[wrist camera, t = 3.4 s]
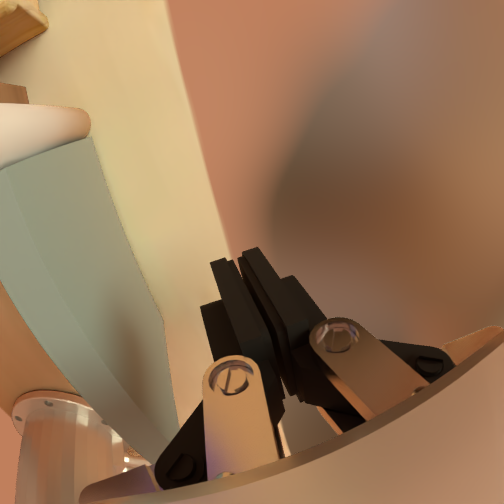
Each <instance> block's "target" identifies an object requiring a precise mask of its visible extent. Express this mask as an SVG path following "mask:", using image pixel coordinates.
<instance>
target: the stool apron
mask: <svg viewBox="0 0 504 504" xmlns="http://www.w3.org/2000/svg"><path fill="white" fill-rule="evenodd" d="M0 103H14V104H29V101H28V97H27V92H26V87H23V86H17V85H11V84H5V83H0Z"/></svg>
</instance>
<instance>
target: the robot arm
mask: <svg viewBox="0 0 504 504" xmlns="http://www.w3.org/2000/svg"><path fill="white" fill-rule="evenodd" d="M238 263H239V267H240V271H241V275H242V277H241V275H240V273H239V271H238V269H237V267H236V265H235V263H234V261H233V260H230V261H227V260H226V258H222V259H219V260H216V261H213V262H210V265H211V268H212V271H213V274H214V277H215V280H216V283H217V286H218V289H219V292H220V295H221V298H222V299H221V300H218V301H215V302H212V303H209V304H206V305H203V306H200V309H201V313H202V317H203V321H204V325H205V329H206V333H207V337H208V340H209V344H210V348H211V352H212V355H213V359H214V363H213V364H212V365H211V366H210V367H209V368H208V369H207V370H206V372H205V374H204V376H203V382H202V387H203V400H202V401H201V403H200V404H199V405H198V407H197V408H196V409H195V411H194V412H193V413H192V415H191V416H190V417H189V419H188V420H187V421H186V422H185V424H184V425H183V426H182V428H181V429H180V430H179V432H178V433H177V434H176V436H175V437H174V438H173V439H172V441H171V442H170V443H169V445H168V446H167V447H166V448H165V450H164V451H163V452H162V453H161V455H160V456H159V458H158V460H157V461H156V463H155V464H152V465H151V464H150V463H149V462H148V461H147V460H146V459H145V458H143V457H141V456H133V455H129V454H128V452H127V451H128V449H129V446H130V445H129V444H128V443H127V442H126V441H124V440H123V439H122V438H121V437H120V436H119V435H118V434H117V433H116V432H115V431H114V430H113V429H112V428H111V427H110V426H109V425H108V424H107V423H106V422H105V421H104V420H103V419H102V418H101V417H100V416H99V415H98V414H97V413H96V412H95V411H94V410H93V408H92V407H91V406H90V405H89V404H88V403H87V402H86V401H85V400H84V399H83V398H82V397H79V396H77V395H73V394H69V393H64V392H58V391H51V390H50V391H42V390H40V391H33V392H28V393H26V394H23V395H21V396H20V397H19V398H18V399H17V400H16V402H15V403H14V406H13V410H12V421H13V424H14V426H15V428H16V429H17V431H18V433H19V434H20V435H21V436H22V443H21V449H20V456H19V463H18V472H17V481H16V495H15V504H504V329H503V328H501V327H499V326H489V327H486V328H484V329H481V330H479V331H476V332H474V333H472V334H469V335H467V336H464V337H462V338H459V339H457V340H454V341H451V342H449V343H446V344H443V347H442V349H439V348H435V347H430V346H422V345H414V344H407V343H399V342H392V341H385V340H378V339H377V338H376V337H374V336H373V335H372V334H371V333H369V332H368V331H367V330H366V329H365V328H364V327H362V326H361V325H360V324H359V323H357V322H356V321H353V320H351V319H348V318H344V317H335V318H329V319H327V318H326V317H325V315H324V314H323V313H322V311H321V310H320V309H319V307H318V306H317V305H316V304H315V302H314V301H313V300H312V299H311V297H310V296H309V295H308V293H307V292H306V291H305V289H304V288H303V287H302V285H301V284H300V283H299V282H298V280H297V279H296V278H295V277H294V276H293V275H291V276H288V277H285V278H282V279H280V278H279V276H278V275H277V273H276V272H275V271H274V269H273V268H272V266H271V265H270V264H269V262H268V260H267V259H266V258H265V256H264V255H263V253H262V252H261V251H260V249H259V248H258V247H256V248H253V249H250V250H246V251H243V252H242V257H239V258H238ZM242 278H243V279H242ZM280 377H281V378H280ZM281 379H282V381H283V383H284V385H285V387H286V389H287V391H288V393H289V395H290V396H293V395H295V394H296V395H297V397H298V399H299V401H300V402H303V401H305V403H307V404H312V405H316V406H317V409H318V410H319V412H320V414H321V415H322V416H323V417H324V418H325V420H326V421H327V422H328V423H329V425H330V426H331V427H332V428H333V429H334V430H335V432H336V433H337V434H338V436H336V437H334V438H332V439H330V440H327V441H325V442H323V443H321V444H318V445H316V446H314V447H311V448H309V449H306V450H304V451H301V452H299V453H296V454H294V455H291V456H288V457H285V454H284V450H283V446H282V441H281V437H280V433H279V428H278V423H279V421H280V420H281V418H282V416H283V414H284V412H285V409H284V405H283V401H282V400H283V399H285V394H284V390H283V386H282V382H281Z"/></svg>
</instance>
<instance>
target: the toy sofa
mask: <svg viewBox="0 0 504 504" xmlns="http://www.w3.org/2000/svg"><path fill="white" fill-rule="evenodd" d="M48 27H49V23H48V19H47V17H46V16H45V15H44V14H43V13H41V12H40V10H39V6H38V0H0V57H1V56H3V55H5V54H6V53H8V52H9V51H11V50H13V49H14V48H16V47H17V46H19V45H21V44H22V43H24V42H26V41H27V40H29V39H31V38H33V37H34V36H36V35H38V34H40V33H42V32H44V31H45V30H46V29H48Z"/></svg>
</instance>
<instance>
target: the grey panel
mask: <svg viewBox="0 0 504 504" xmlns="http://www.w3.org/2000/svg"><path fill="white" fill-rule="evenodd" d="M90 126H91V121H90V117H89V115H88V114H87V113H86V112H85V111H84V110H82V109H79V108H70V107H60V106H48V105H34V104H14V103H0V281H1V283H2V284H3V286H4V288H5V290H6V292H7V293H8V295H9V297H10V298H11V300H12V302H13V304H14V305H15V307H16V308H17V310H18V312H19V313H20V315H21V316H22V318H23V320H24V321H25V323H26V324H27V326H28V327H29V329H30V330H31V332H32V333H33V335H34V336H35V338H36V339H37V340H38V342H39V343H40V345H41V346H42V347H43V349H44V350H45V352H46V353H47V354H48V356H49V357H50V358H51V360H52V361H53V362H54V364H55V365H56V366H57V367H58V369H59V370H60V371H61V372H62V374H63V375H64V376H65V377H66V379H67V380H68V381H69V382H70V383H71V385H72V386H73V387H74V388H75V389H76V391H77V392H78V393H79V394H80V395H81V396H82V397H83V399H84V400H85V401H86V402H87V403H88V404H89V405H90V406H91V407H92V408H93V410H94V411H95V412H96V413H97V414H98V415H99V416H100V417H101V418H102V419H103V420H104V421H105V422H106V423H107V424H108V425H109V426H110V427H111V428H112V429H113V430H114V431H115V432H116V433H117V434H118V435H119V436H120V437H121V438H122V439H123V440H124V441H126V442H127V443H128V444H129V445H130V446H131V447H132V448H133V449H134V450H135V451H137V452H138V453H139V454H140V455H141V456H142V457H143V458H145V459H146V460H147V461H148V462H149V463H150V464H155V463H156V461H157V460H158V458H159V456H160V455H161V453H162V452H163V451H164V450H165V448H166V447H167V446H168V445H169V443H170V442H171V441H172V439H173V438H174V437H175V436H176V434H177V433H178V432H179V430H180V427H179V422H178V417H177V411H176V406H175V400H174V394H173V388H172V382H171V375H170V368H169V362H168V354H167V347H166V339H165V331H164V322H163V319H162V317H161V315H160V312H159V310H158V308H157V306H156V304H155V302H154V300H153V298H152V295H151V293H150V291H149V289H148V287H147V284H146V282H145V280H144V278H143V275H142V273H141V271H140V269H139V266H138V264H137V262H136V259H135V257H134V254H133V252H132V250H131V247H130V245H129V242H128V240H127V237H126V235H125V232H124V230H123V227H122V225H121V222H120V219H119V217H118V214H117V211H116V209H115V206H114V203H113V200H112V198H111V195H110V192H109V189H108V186H107V183H106V181H105V178H104V175H103V172H102V169H101V165H100V162H99V159H98V156H97V153H96V150H95V146H94V143H93V140H92V137H88V138H85V137H86V136H87V134H88V133H89V130H90ZM84 138H85V139H84Z"/></svg>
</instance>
